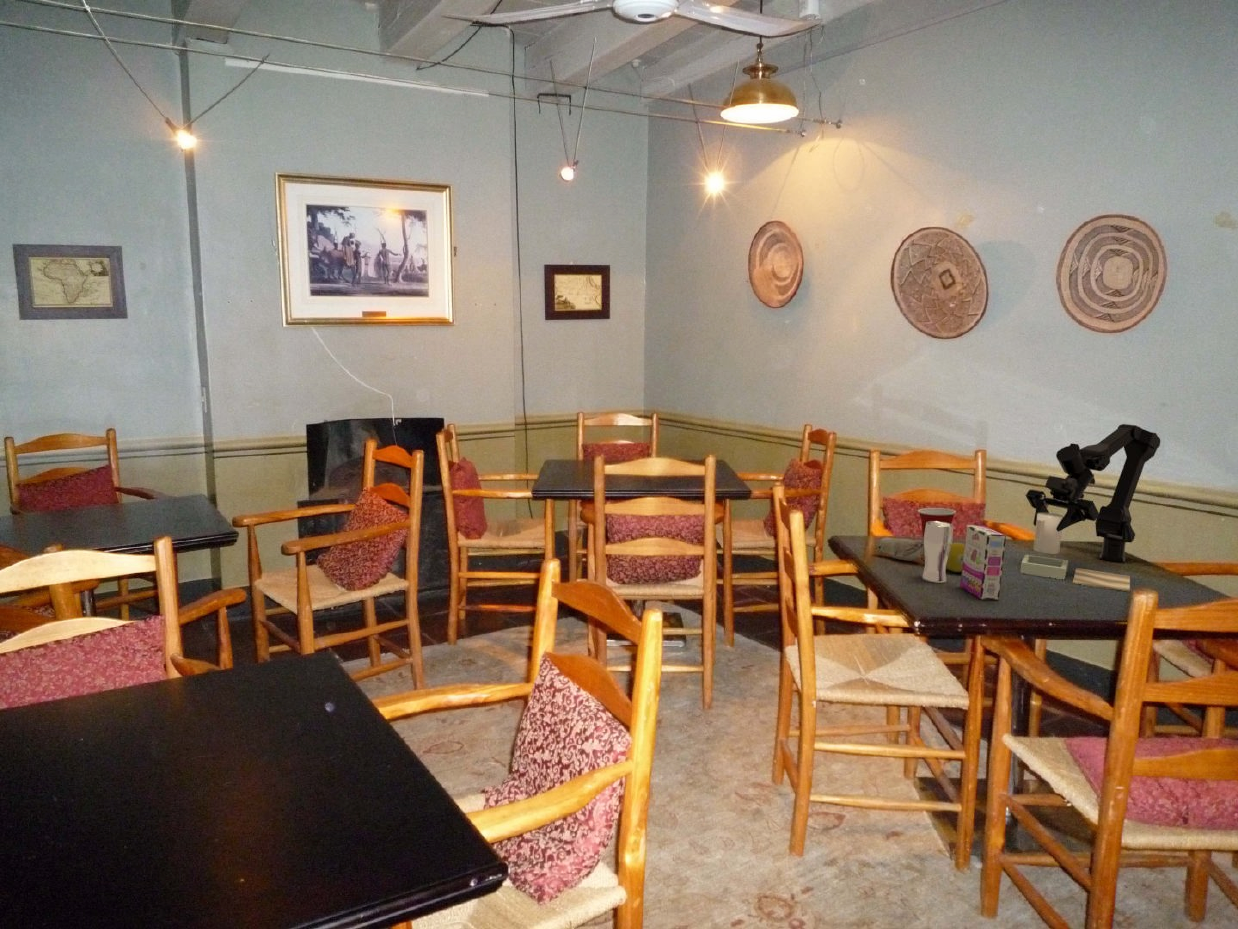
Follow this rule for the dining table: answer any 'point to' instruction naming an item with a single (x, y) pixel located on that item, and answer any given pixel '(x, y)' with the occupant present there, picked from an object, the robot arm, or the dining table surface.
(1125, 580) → the serving board
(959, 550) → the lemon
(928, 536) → the beer glass
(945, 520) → the plastic cup
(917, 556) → the decorative bird
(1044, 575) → the glass holder
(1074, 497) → the robot arm
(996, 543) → the candy bar box
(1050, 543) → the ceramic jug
